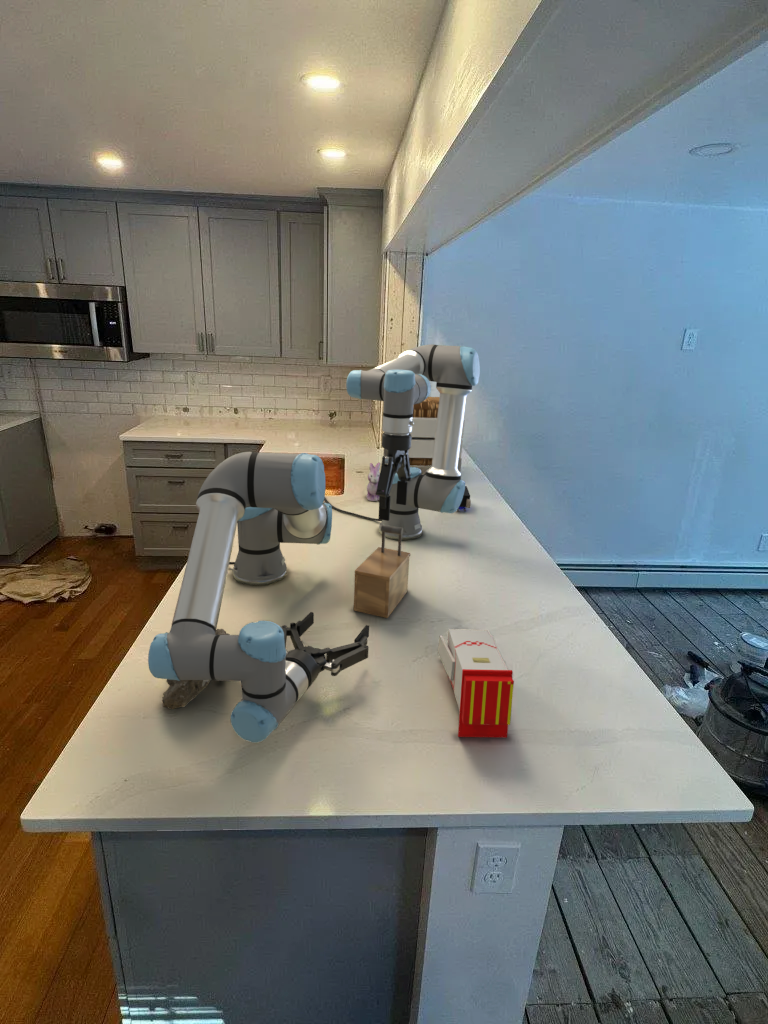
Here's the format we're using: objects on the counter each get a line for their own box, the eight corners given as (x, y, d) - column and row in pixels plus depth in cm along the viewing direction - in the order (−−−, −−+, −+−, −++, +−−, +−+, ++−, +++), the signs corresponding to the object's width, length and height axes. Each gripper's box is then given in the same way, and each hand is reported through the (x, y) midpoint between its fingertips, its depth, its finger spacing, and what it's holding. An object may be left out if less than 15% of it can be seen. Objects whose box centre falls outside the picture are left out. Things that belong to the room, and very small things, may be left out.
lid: (378, 549, 160) (379, 519, 157) (410, 555, 157) (412, 525, 154) (354, 573, 145) (355, 541, 142) (389, 580, 142) (391, 547, 139)
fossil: (186, 631, 128) (233, 600, 123) (216, 659, 131) (263, 630, 126) (139, 703, 108) (193, 670, 103) (175, 734, 111) (229, 704, 106)
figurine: (371, 503, 230) (372, 467, 224) (360, 495, 238) (361, 460, 233) (391, 500, 234) (393, 465, 229) (380, 493, 242) (381, 459, 237)
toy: (488, 613, 130) (523, 677, 101) (484, 667, 133) (517, 744, 104) (435, 612, 130) (455, 676, 101) (432, 666, 133) (451, 743, 103)
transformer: (382, 463, 289) (386, 382, 275) (445, 464, 293) (451, 384, 279) (390, 482, 257) (394, 392, 243) (460, 483, 261) (468, 394, 247)
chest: (376, 584, 162) (377, 550, 159) (407, 591, 159) (409, 557, 156) (353, 610, 148) (354, 573, 145) (387, 618, 145) (389, 581, 142)
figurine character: (470, 516, 223) (465, 500, 237) (473, 499, 220) (467, 484, 233) (453, 516, 223) (449, 500, 236) (455, 498, 220) (451, 483, 233)
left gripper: (237, 677, 113) (290, 626, 132) (351, 710, 105) (391, 651, 124) (235, 644, 111) (290, 597, 129) (352, 676, 103) (392, 621, 121)
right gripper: (394, 444, 131) (390, 529, 139) (425, 426, 154) (420, 500, 161) (364, 440, 134) (361, 524, 141) (399, 423, 156) (395, 496, 163)
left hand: (339, 623), depth 127 cm, fingers open, 13 cm apart
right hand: (392, 511), depth 151 cm, fingers open, 13 cm apart
